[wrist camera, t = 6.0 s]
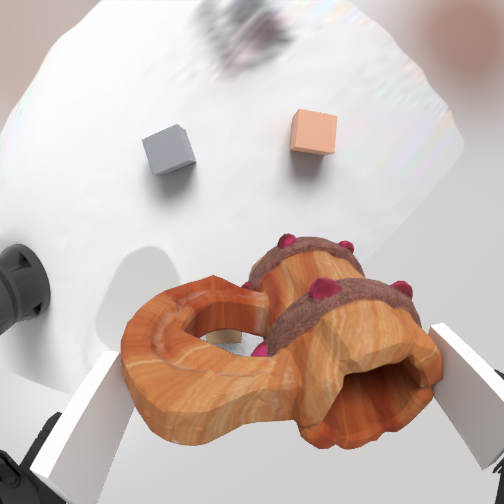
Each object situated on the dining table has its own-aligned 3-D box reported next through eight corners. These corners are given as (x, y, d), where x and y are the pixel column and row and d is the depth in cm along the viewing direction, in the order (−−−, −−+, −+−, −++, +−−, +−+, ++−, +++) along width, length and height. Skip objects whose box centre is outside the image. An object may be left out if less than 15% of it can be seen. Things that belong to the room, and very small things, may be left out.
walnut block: (211, 327, 44) (207, 344, 39) (207, 299, 43) (202, 314, 38) (241, 325, 44) (241, 342, 39) (239, 297, 43) (238, 312, 38)
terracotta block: (289, 150, 37) (295, 146, 32) (292, 116, 36) (298, 108, 31) (323, 155, 37) (333, 153, 32) (326, 122, 36) (337, 116, 31)
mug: (362, 234, 21) (506, 318, 7) (341, 324, 23) (424, 455, 9) (176, 214, 20) (59, 297, 6) (173, 312, 22) (114, 467, 8)
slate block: (164, 174, 38) (153, 175, 33) (154, 143, 36) (141, 140, 31) (196, 161, 37) (189, 159, 32) (185, 130, 36) (176, 124, 31)
